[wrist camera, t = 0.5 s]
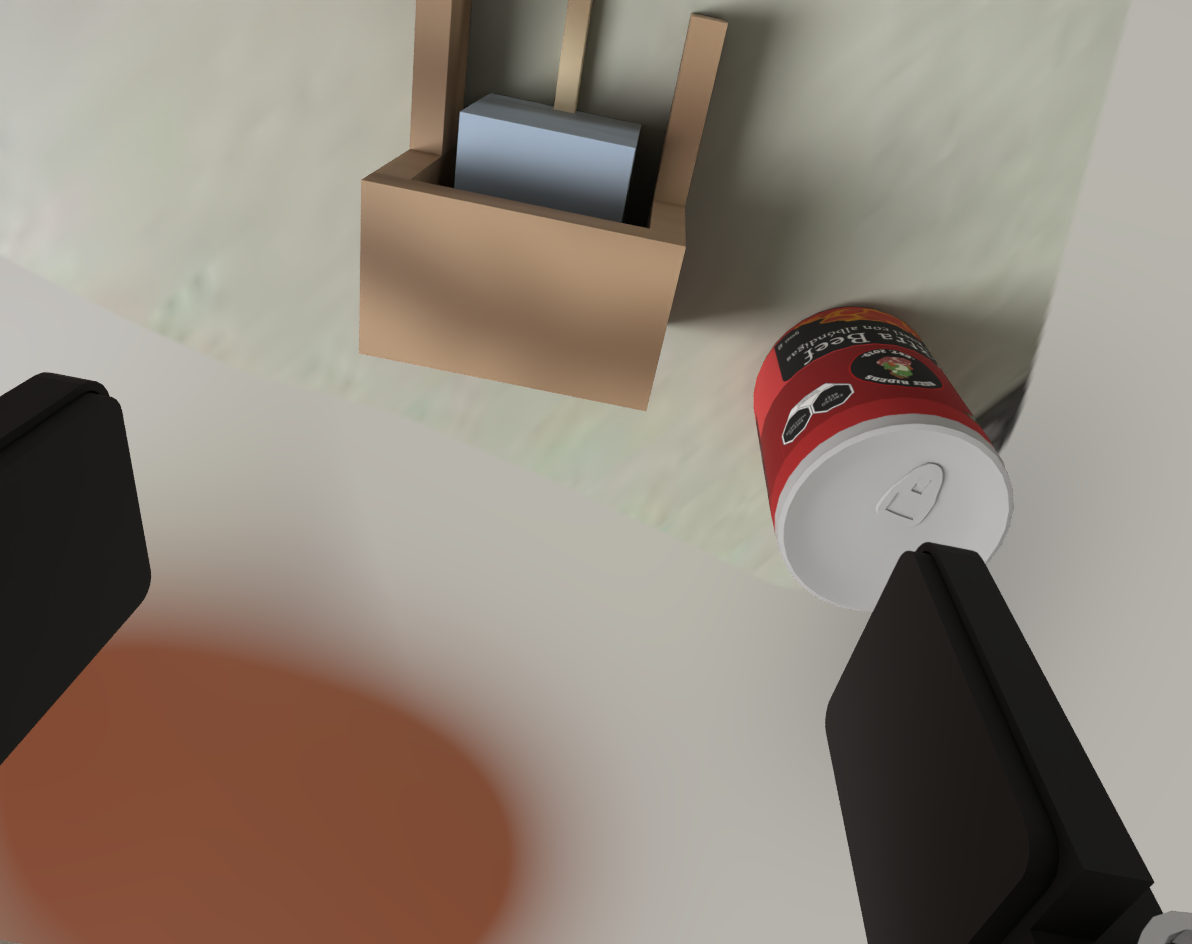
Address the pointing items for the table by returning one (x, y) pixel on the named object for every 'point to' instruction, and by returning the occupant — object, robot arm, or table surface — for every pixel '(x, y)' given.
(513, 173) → the knob-handled block
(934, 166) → the table surface
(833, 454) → the canned food
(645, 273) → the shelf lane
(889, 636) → the robot arm
